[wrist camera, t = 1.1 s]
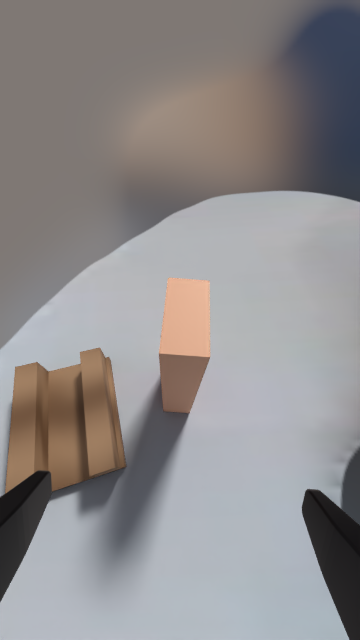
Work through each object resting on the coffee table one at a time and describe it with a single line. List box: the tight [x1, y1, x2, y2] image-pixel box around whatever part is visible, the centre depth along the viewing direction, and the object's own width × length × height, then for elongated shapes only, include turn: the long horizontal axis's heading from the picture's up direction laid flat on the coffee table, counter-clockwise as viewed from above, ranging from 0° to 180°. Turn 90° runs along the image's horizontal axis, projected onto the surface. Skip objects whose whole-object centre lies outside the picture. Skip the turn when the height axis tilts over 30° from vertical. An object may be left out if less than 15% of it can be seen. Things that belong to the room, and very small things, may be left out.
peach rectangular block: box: [159, 278, 210, 413], centre depth 18 cm, size 5×2×13 cm, turn 176°
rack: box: [5, 348, 126, 494], centre depth 20 cm, size 10×8×3 cm
